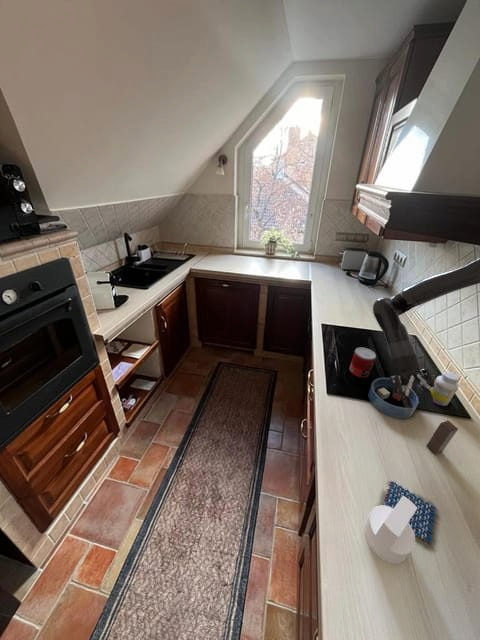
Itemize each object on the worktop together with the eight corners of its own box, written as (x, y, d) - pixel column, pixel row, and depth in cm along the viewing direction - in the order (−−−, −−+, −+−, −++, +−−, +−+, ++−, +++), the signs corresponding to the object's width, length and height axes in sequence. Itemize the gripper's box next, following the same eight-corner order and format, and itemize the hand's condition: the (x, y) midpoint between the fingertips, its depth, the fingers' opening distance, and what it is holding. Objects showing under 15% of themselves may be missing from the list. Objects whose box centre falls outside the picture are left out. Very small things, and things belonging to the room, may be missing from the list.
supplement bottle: (438, 394, 99) (453, 368, 93) (451, 407, 94) (468, 381, 87) (422, 394, 99) (435, 369, 92) (434, 408, 93) (449, 382, 87)
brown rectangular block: (431, 445, 80) (448, 420, 74) (440, 454, 77) (458, 428, 72) (424, 448, 79) (440, 422, 73) (433, 457, 77) (450, 431, 71)
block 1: (387, 398, 96) (390, 393, 94) (381, 400, 95) (384, 394, 93) (381, 393, 98) (383, 387, 97) (375, 395, 97) (377, 389, 96)
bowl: (411, 396, 98) (416, 386, 95) (414, 426, 86) (420, 415, 83) (368, 383, 104) (372, 373, 101) (366, 409, 92) (370, 398, 89)
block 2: (403, 399, 96) (406, 393, 94) (398, 402, 94) (401, 396, 93) (395, 394, 98) (398, 388, 96) (390, 396, 97) (393, 391, 95)
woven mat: (388, 481, 70) (390, 477, 69) (433, 509, 64) (436, 505, 63) (378, 514, 63) (380, 511, 62) (428, 550, 57) (431, 546, 56)
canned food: (363, 382, 104) (371, 361, 98) (345, 372, 109) (351, 351, 103) (371, 374, 108) (379, 353, 103) (353, 364, 114) (360, 344, 108)
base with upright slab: (374, 508, 64) (389, 483, 58) (412, 545, 58) (433, 520, 52) (354, 534, 60) (369, 509, 54) (393, 577, 53) (414, 554, 47)
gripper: (395, 357, 79) (413, 411, 75) (429, 349, 82) (448, 400, 79) (377, 359, 86) (393, 409, 82) (409, 353, 89) (426, 400, 86)
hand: (420, 405), depth 80 cm, fingers open, 8 cm apart
